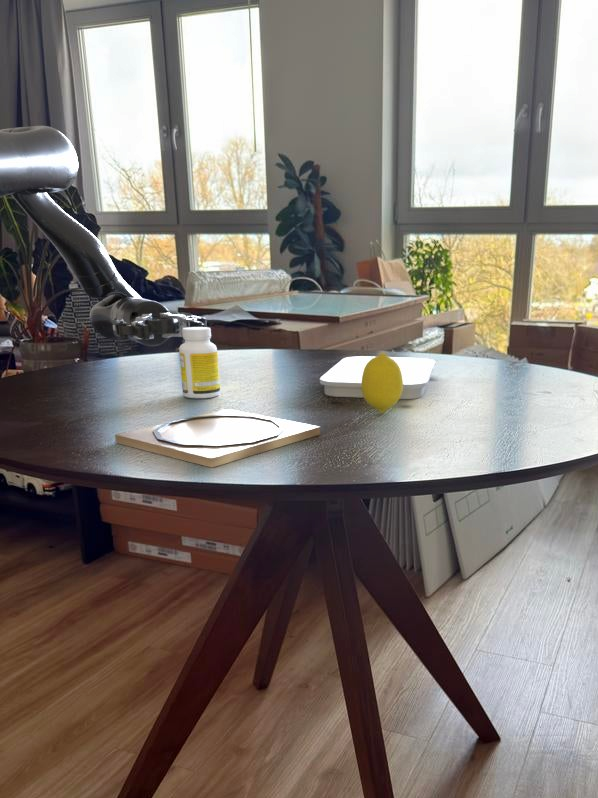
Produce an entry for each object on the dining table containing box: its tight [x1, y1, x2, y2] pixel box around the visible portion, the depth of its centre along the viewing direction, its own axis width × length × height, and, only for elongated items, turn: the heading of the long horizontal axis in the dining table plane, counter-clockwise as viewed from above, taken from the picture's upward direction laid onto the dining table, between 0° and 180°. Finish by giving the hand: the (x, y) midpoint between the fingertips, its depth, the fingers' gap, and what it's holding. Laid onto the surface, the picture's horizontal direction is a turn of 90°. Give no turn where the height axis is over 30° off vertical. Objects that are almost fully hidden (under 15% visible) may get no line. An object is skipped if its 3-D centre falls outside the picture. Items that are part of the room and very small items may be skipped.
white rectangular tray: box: [319, 355, 436, 400], centre depth 118 cm, size 16×26×2 cm, turn 173°
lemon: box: [361, 352, 403, 414], centre depth 96 cm, size 6×6×8 cm
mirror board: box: [114, 408, 321, 468], centre depth 84 cm, size 17×16×1 cm
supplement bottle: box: [178, 326, 221, 399], centre depth 106 cm, size 5×5×10 cm
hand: (174, 331), depth 113 cm, fingers open, 8 cm apart
